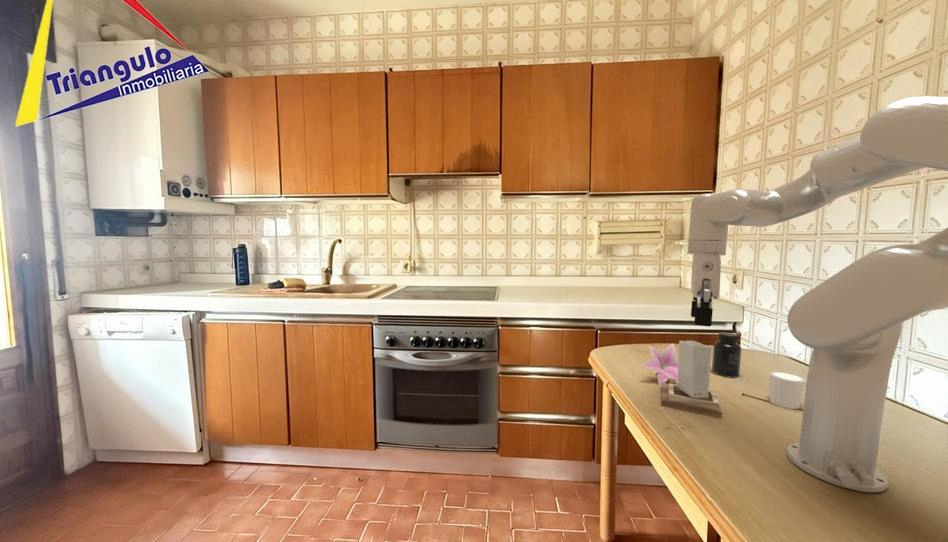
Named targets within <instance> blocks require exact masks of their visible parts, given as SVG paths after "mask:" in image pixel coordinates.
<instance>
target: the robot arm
mask: <svg viewBox="0 0 948 542" xmlns="http://www.w3.org/2000/svg"><path fill="white" fill-rule="evenodd" d="M809 167H810V168H808V170H807V171H806V172H805V173H804V174H802V175H801V176H799V177H798V178H796V179H794V180H791V181H789V182H788V183H785V184H783V185H780V186H777V187H775V188H773V189H770V190H764V191H763V190H756V189H748V188H747V189H745V188H735V189H730V190H725V191H723V192H719V193H715V192H714V193H713V192H712V193H701V194H697V195H694V196H693V198H692V200H691V205H690V216H689V218H690V219H689V227H688V239H687V240H688V242H687V253H686V254H687V255H692V264H691V277H690V278H691V281H690V285H691V286H690V287H691V294H692V300H691V309H690V317H691V318H694V325H695V326H703V327H712V324H713V323H712V321H713V310H714V309H713V299H714V300H719V298H720V294H721V293H720V292H721V291H720V287H721V272H722V271H721V268H722V267H721V266H722V259H721V258H722V257H721V256H726V253H727V244H728V243H727V242H728V234H729V233H728V232H729V226H738V227H759V228H763V227H770V226H774V225H777V224H781V223H783V222H787V221H790V220H792V219H795V218H799V217H801V216H804V215H808V214H810V213H812V212H815V211H817V210H819V209H820V208H822V207H825V206H826V205H828V204H831V203H832V202H834V201H835V200H837V199H839V198H841V197H843V196H846V195H850V194H852V193H856V192H859V191H861V190H864V189H866V188H869V187H872V186H876V185H878V184H881V183H883V182H886V181H887V182H888V181H890V180H893V179H896V178H898V177H902V176H904V175H908V174H910V173H911V174H912V173H913V172H916V171H919V170H922V169H925V168H929V169H935V170H941V171H944V172H945V171H946V172H948V96H939V95H938V96H937V95H916V96H909V97H905V98H901V99H898V100H896V101H894V102H890V103H889V104H887V105H884V106H883V107H881V108H879V110H877V111H876V112H874V113H873V114H872V115H871V116H870V117H869V118H868V119H867V120H866V121H865V123H864V125H863V127H862V128H861V132H860V134H859V135H857V136H854V137H852V138H849V139H848V140H845V141H843V142H840V143H838V144H836V145H834V146H832V147H829V148H827V149H824V150H822V151H820V152H818V153H816V154H815V155H814V156H813V157H812V158H811V160H810V164H809ZM946 308H948V227H946V228H944V229H942V230H941V231H938V233H935V234H934V235H932V236H930V237H928V238H927V239H924V240H923V241H921V242H918V243H915V244H914V243H913V244H909V243H907V244H906V243H905V244H895V245H889V246H886V247H883V248H880V249H877V250H874V251H872V252H869V253H868V254H866V255H864V256H862V257H860V258H858V259H856V260H854V261H853V262H852V263H850V264H848V265H847V266H846V267H845V268H843V269H841V270H839V271H837V272H836V273H835V274H833V275H832V276H830V277H828V278H827V279H826V280H824V281H822V282H821V283H819V284H818V285H816V286H815V287H812V289H810V290H809V291H807V292H806V293H804V294H803V295H801V296H800V297H798V298H797V300H795V302H794V303H793V304H792V305H791V307H790V309H789V310H788V314H787V327H788V329H789V332H790V334H791V335H792V336H793V337H794V338H795V339H796V340H797V341H798V342H799V343H801V344H803V346H805V347H808V348H809V349H812V351H811V356H810V358H809V363H808V370H807V371H808V372H807V378H806V384H805V386H806V387H805V393H804V403H803V411H802V418H801V428H800V433H799V434H800V436H799V441H798V442H794V443H790V444H788V446H787V448H786V455H787V457H788V458H789V460H790V461H791V462H792V463H793V464H794V465H795V466H797V467H798V468H800V469H801V470H802V471H804V472H806V473H808V474H809V475H811V476H814V477H816V478H818V479H820V480H823V481H824V482H827V483H830V484H833V485H835V486H839V487H842V488H844V489H849V490H853V491H856V492H864V493H881V492H884V491H886V490H887V489H886V488H888V485H889V479H888V476H886V475H885V474H884V472H883V471H882V470H880V469H879V468H878V467H876V466H877V460H878V454H879V453H878V452H879V446H880V438H881V433H882V424H883V418H884V411H885V410H884V409H885V406H886V404H885V403H886V397H887V391H888V386H889V379H890V374H891V369H892V364H893V360H894V356H895V353H896V351H897V348H898V345H899V341H900V338H901V334H902V328H903V327H902V326H903V324H902V323H904V322H906V321H908V320H911V319H912V318H913V319H914V318H915V317H918V315H921V314H924V313H926V312H930V311H937V310H942V309H946ZM885 489H886V490H885Z"/></svg>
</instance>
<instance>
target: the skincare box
mask: <svg viewBox="0 0 948 542" xmlns="http://www.w3.org/2000/svg"><path fill="white" fill-rule="evenodd" d="M711 352H712V347H709V346H708V345H705V344H703V343H701V342H698V341H696V340H679V341H678V361H679V362H678V384H677V385H678V386H677V387H678V388H679V389H680V390H682V391H683V392H685V393H686V394H688V395H689V396H690V397H692V398H708V393H709V391H710V389H709V388H710V372H711V369H710V368H711Z"/></svg>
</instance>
